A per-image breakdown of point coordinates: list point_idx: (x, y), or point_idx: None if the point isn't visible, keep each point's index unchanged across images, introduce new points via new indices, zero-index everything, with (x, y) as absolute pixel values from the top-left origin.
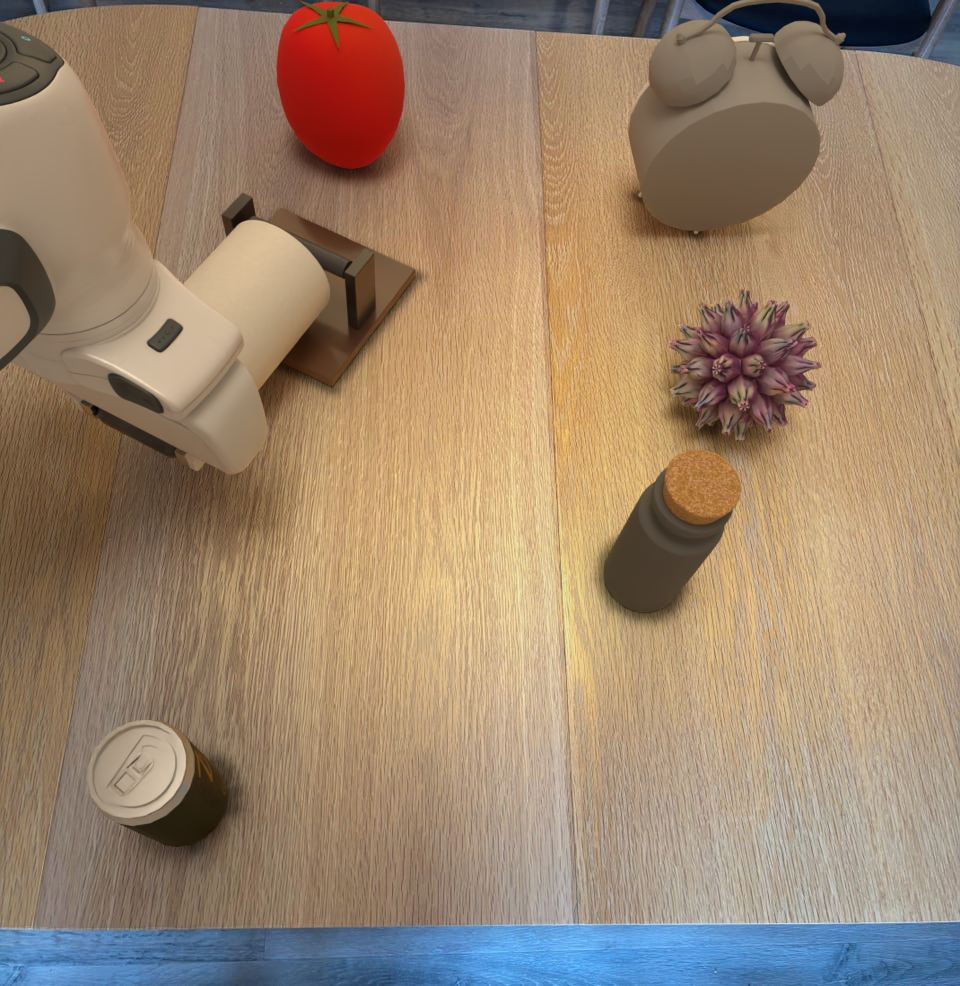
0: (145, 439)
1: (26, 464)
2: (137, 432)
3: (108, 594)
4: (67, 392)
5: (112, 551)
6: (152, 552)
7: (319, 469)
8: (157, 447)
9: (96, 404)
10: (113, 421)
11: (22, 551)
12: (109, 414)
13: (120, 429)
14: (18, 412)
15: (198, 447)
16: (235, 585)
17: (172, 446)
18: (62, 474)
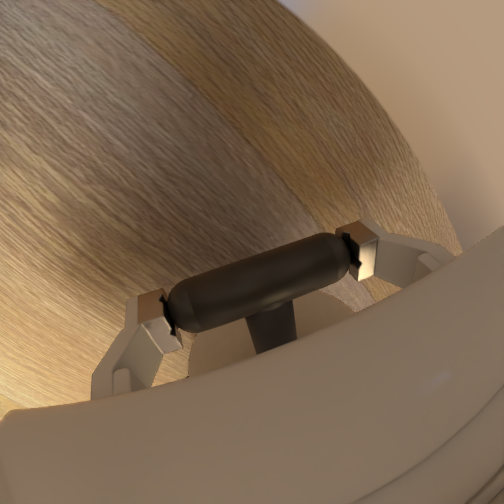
0: (234, 282)
1: (358, 103)
2: (257, 279)
3: (119, 48)
4: (406, 244)
5: (170, 87)
6: (126, 129)
7: (110, 337)
8: (204, 287)
9: (356, 335)
10: (311, 257)
11: (269, 12)
12: (325, 262)
13: (290, 254)
14: (401, 148)
15: (35, 473)
16: (23, 196)
17: (180, 314)
18: (319, 119)
